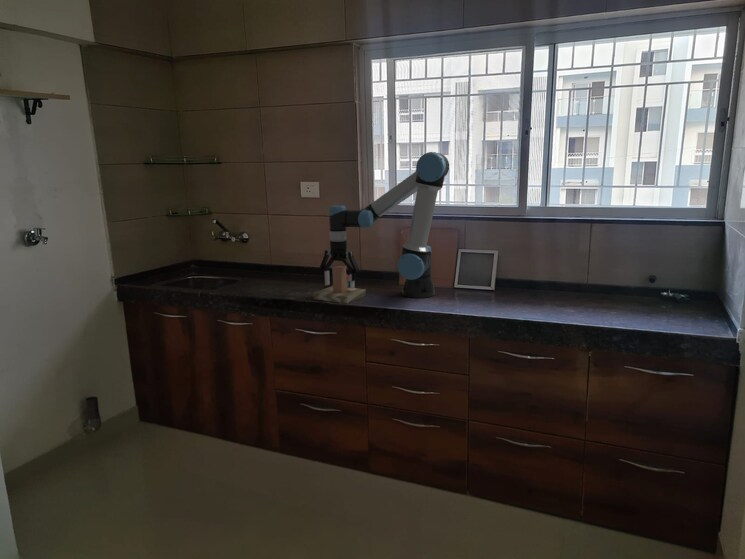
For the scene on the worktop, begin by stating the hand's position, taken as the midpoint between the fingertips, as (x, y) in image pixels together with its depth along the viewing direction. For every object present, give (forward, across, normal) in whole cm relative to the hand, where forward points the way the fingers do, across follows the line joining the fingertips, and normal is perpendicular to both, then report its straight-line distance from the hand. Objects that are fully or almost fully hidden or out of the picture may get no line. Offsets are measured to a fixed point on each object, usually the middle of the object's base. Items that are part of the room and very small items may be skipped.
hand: (339, 286), depth 239 cm
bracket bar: (+5, 0, 0) cm, 5 cm away
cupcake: (+5, +10, -18) cm, 21 cm away
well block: (+5, 0, 0) cm, 5 cm away
